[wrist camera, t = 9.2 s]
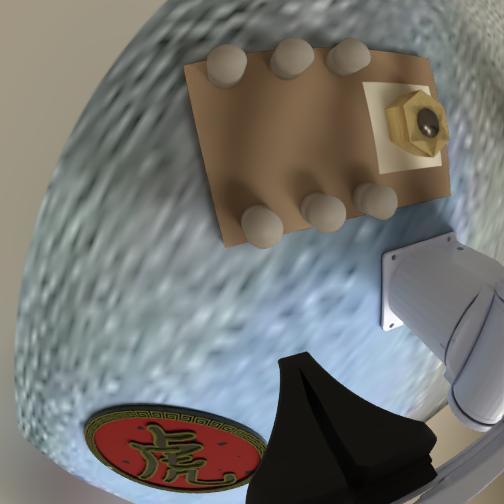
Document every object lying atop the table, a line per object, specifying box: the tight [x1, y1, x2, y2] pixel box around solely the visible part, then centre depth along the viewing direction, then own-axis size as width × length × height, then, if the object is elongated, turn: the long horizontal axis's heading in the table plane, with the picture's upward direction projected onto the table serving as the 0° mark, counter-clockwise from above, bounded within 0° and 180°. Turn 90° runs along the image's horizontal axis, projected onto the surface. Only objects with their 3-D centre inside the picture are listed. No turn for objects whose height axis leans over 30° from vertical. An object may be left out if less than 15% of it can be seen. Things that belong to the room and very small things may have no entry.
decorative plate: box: [84, 405, 267, 493], centre depth 27 cm, size 25×1×25 cm
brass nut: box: [384, 90, 450, 158], centre depth 16 cm, size 5×4×2 cm
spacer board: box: [183, 37, 451, 249], centre depth 16 cm, size 20×13×3 cm, turn 102°
